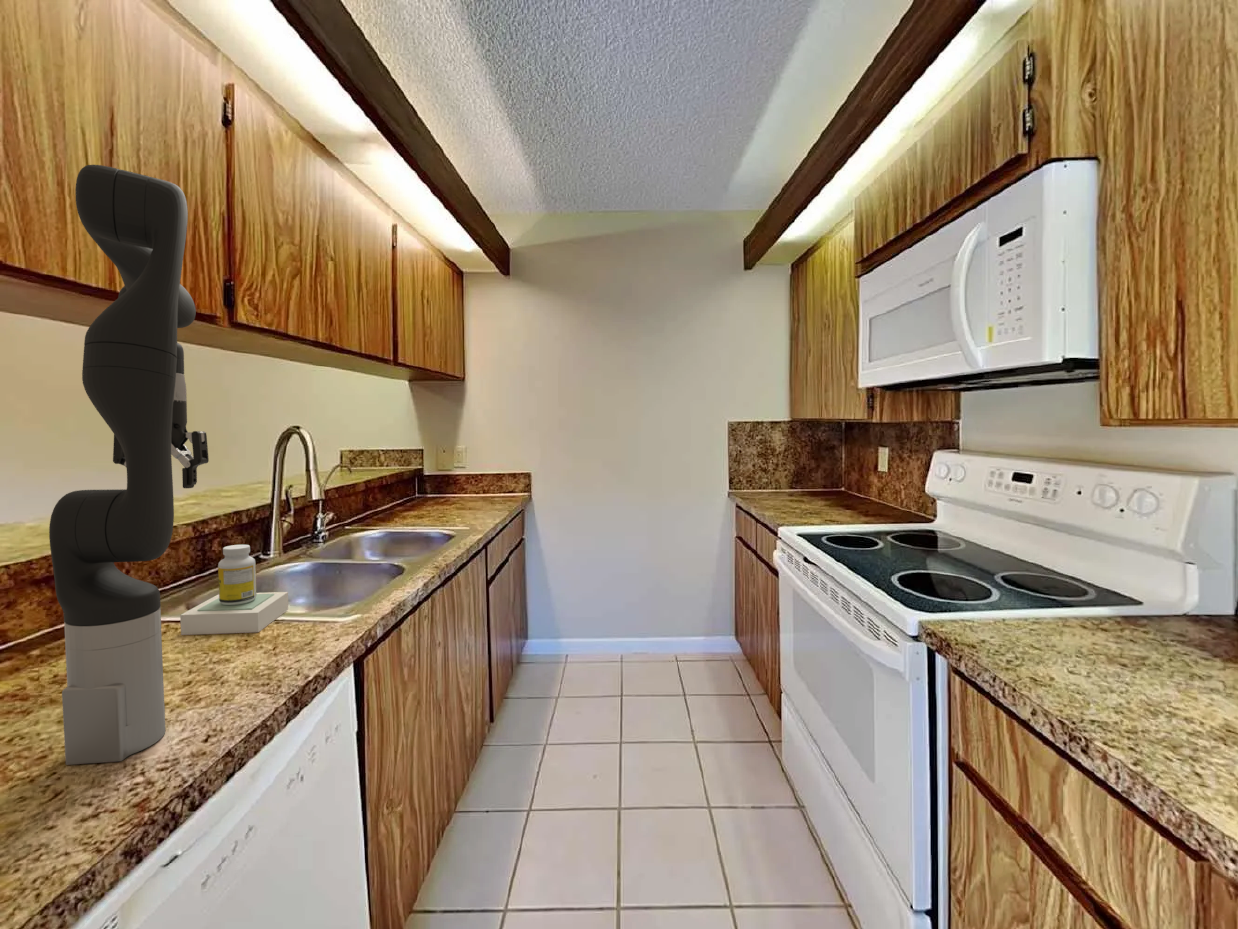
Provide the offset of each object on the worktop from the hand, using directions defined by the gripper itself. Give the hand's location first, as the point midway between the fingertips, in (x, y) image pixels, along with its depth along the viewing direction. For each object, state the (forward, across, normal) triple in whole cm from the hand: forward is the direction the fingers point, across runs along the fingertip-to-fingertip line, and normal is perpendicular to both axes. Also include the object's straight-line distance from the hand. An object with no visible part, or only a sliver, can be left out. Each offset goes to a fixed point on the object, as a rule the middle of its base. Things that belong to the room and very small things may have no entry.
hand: (162, 488), depth 102 cm
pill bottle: (+25, -5, -14) cm, 30 cm away
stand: (+29, -5, -14) cm, 33 cm away
